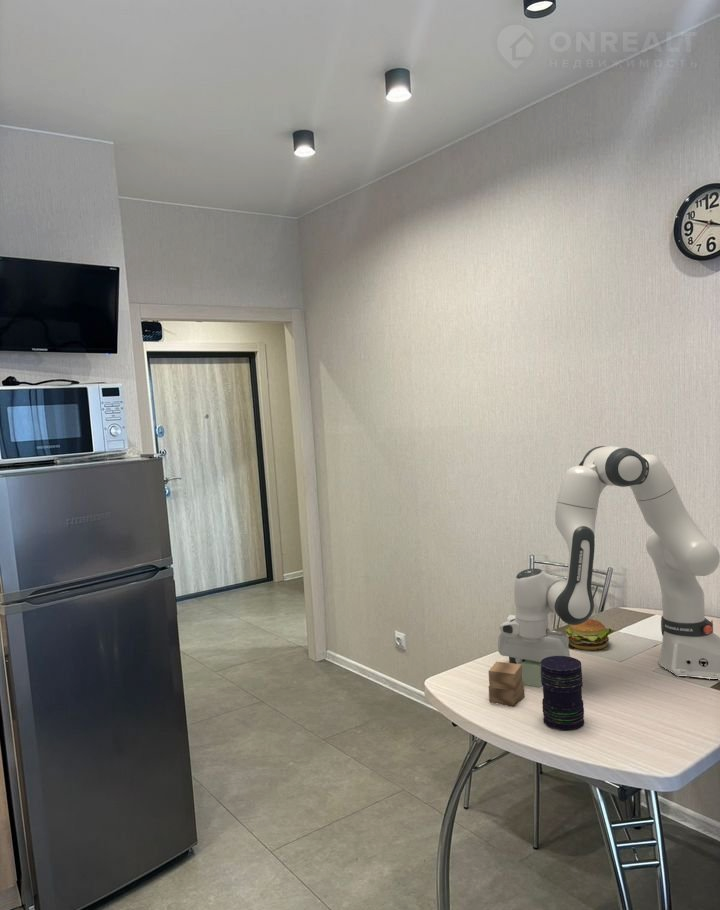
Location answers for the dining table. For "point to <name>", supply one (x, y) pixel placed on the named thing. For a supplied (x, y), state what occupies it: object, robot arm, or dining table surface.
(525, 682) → the sage block
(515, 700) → the tower base
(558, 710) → the dark blue ribbed cylinder
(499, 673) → the tower top
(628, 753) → the dining table surface
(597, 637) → the food
